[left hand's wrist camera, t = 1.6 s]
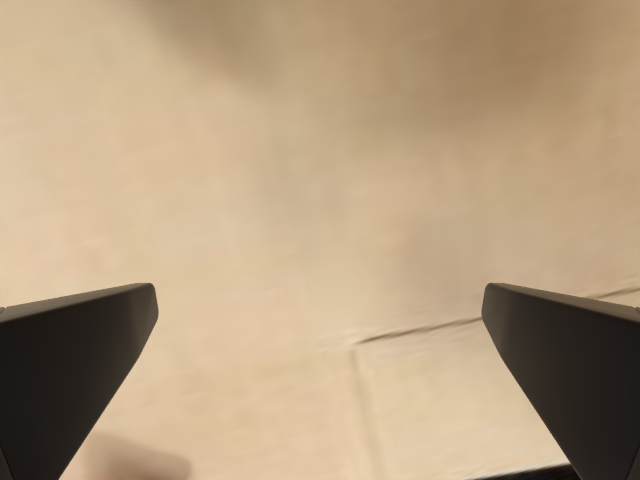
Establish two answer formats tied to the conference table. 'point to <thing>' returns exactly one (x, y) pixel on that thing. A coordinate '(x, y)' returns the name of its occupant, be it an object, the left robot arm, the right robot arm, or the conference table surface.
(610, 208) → the conference table surface
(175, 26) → the conference table surface
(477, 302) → the conference table surface
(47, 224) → the conference table surface
